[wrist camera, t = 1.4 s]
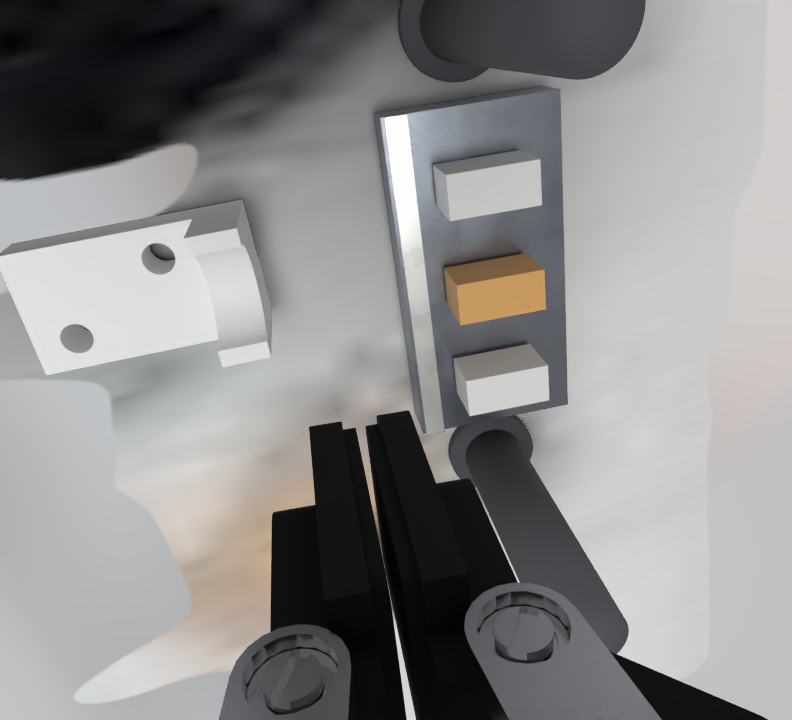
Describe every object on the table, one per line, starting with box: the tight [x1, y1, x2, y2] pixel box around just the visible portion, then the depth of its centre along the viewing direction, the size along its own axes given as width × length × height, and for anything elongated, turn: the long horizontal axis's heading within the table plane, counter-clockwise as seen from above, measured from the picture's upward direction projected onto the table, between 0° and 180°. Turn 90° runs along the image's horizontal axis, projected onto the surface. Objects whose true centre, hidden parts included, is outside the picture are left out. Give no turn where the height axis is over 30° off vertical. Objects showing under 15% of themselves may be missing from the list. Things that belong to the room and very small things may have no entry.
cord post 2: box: [449, 415, 629, 654], centre depth 42 cm, size 6×6×18 cm
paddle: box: [433, 150, 542, 221], centre depth 37 cm, size 2×5×3 cm, turn 98°
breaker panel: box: [373, 86, 568, 435], centre depth 42 cm, size 20×10×3 cm, turn 8°
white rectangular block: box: [453, 344, 549, 416], centre depth 42 cm, size 2×5×3 cm, turn 97°
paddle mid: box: [444, 253, 546, 325], centre depth 40 cm, size 2×5×3 cm, turn 98°
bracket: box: [0, 199, 272, 375], centre depth 38 cm, size 13×7×8 cm, turn 99°
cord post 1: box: [398, 0, 645, 82], centre depth 29 cm, size 6×6×18 cm
